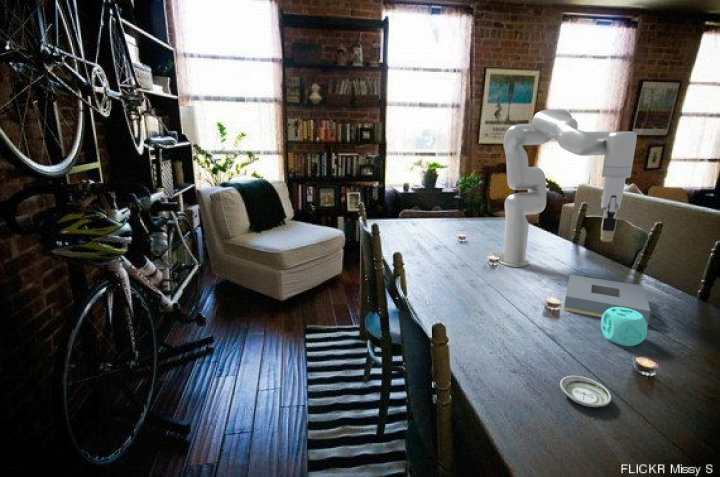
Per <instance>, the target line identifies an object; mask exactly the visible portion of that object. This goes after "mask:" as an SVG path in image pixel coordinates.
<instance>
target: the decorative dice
mask: <svg viewBox="0 0 720 477" xmlns="http://www.w3.org/2000/svg"><path fill="white" fill-rule="evenodd" d="M600 329H601V332H602V334H603V336H604V337H605V339H607V340H608V341H610V343H613V344H615V345H620V346H624V347H625V346H626V347H634V346H637V345H639V344H641V343H642V342H644V341H645V339H646V337H647V334H648V326H647V324H646V321H645V318H644V317H643V316H642V315H641V314H640V313H639V312H637V311H635V310H632V309H628V308H624V307H612V308H609V309H608V310H606V311H605V312H604V313H603V315H602V317H600Z"/></svg>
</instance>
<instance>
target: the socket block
mask: <svg viewBox="0 0 720 477" xmlns="http://www.w3.org/2000/svg"><path fill="white" fill-rule="evenodd" d="M646 294H647V293H646V290H645V287H644V285H641V284H640V285H639V284H635V283H626V282H622V281H621V282H620V281H613V280H608V279H601V278H600V279H599V278H594V277H586V276H581V275H575V274H570V275H569V279H568V284H567V288H566V294H565V299H564V306H563V307H564V308H563V310H564V311H567V312H570V313H571V312H572V313H576V314H577V313H578V314H582V315H588V316H593V317H597V318H602V315H603V313H604V312H605V311H606V310H608V309H609V308H612V307H624V308H628V309H632V310H635V311H637V312H639V313H640V314H641V315H642V316H643V317H644V318H645V321H646V324H647V327H648V325H649V321H650V315H651V308H650V305H649V300H648V297H647V295H646Z"/></svg>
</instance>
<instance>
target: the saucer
mask: <svg viewBox="0 0 720 477" xmlns="http://www.w3.org/2000/svg"><path fill="white" fill-rule="evenodd" d="M559 387H560V389H561V391H562V393H564V395H566V396H567V397H568V398H569V399H570V400H572V401H573V402H575V403H577V404H579V405H582V406H585V407H589V408H590V407H591V408H599V407H601V408H602V407H605V406H607V405H609V404H610V403H611V401H612V395H611V393H610V391H609V390H608V389H607V388H606V387H605V386H604V385H603V384H601V383H600V382H598V381H596V380H593V379H591V378H588V377H586V376H585V377H584V376H580V375H568V376H565V377H563V378H561V379H560V382H559Z"/></svg>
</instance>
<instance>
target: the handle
mask: <svg viewBox="0 0 720 477" xmlns="http://www.w3.org/2000/svg"><path fill="white" fill-rule="evenodd" d="M602 196H603V194H601V195H600V199H601V200H602ZM625 200H626V195H624V194H623V196H622V201H621V203H622V202H624V201H625ZM610 201H611V200H610ZM617 206H618V205H617ZM608 208H609V209H610V207H608ZM608 211H609V210H608ZM605 214H606V207H604V210H603V215H602V220H601V226H600V241H601V242H605V243H606V242H607V243H609V242H611V243H612V242H613V239H614V236H615V232H616V228H617V218H618V210H617V211H616V218H615V219H616V223H615V229H614V231H606V230H603V229H602V228H603V221H604V218H605Z"/></svg>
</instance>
